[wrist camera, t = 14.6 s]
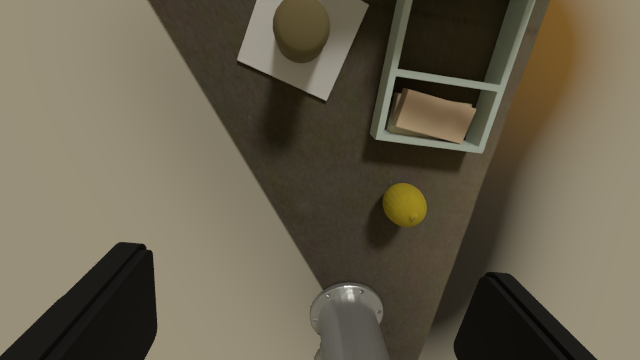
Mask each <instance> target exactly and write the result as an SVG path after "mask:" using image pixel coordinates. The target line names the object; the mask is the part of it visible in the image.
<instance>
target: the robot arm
mask: <svg viewBox="0 0 640 360" xmlns="http://www.w3.org/2000/svg"><path fill="white" fill-rule="evenodd" d="M382 316H383V307H382V303H381V300H380V298H379V296H378V295H377V293H375V292H374V291H373V290H372V289H371V288H369V287H367V286H365V285H362V284H358V283H340V284H336V285H333V286H331V287H329V288H327V289H325V290H324V291H322V292H321V293H320V294H319V295H318V296H317V297H316V298H315V300H314V301H313V303H312V306H311V309H310V320H311V325H312V326H313V328H314V330H315V331H316V332H317V334H319V335H320V336H321V343H320V349H319V350H318V352H317V353H316V355H315V357H314V360H389V356H388V353H387V350H386V347H385V343H384V340H383V337H382V334H381V330H380V327H379V324H380V322H381V320H382ZM156 333H157V314H156V297H155V281H154V265H153V253H152V251H151V250H147V249H146V246H145V245H144V244H138V243H126V242H119V243H118V244H116V245H115V246H114V247H113V248H112V249H111V250H110V251H109V252H108V253H107V254H106V255H105V256H104V257H103V258H102V259H101V260H100V261H99V262H98V263H97V264H96V265H95V266H94V267H93V268H92V269H91V270H90V271H89V272H88V273H87V274H85V276H83V278H82V279H80V281H79V282H77V283H76V284H75V285H74V286H73V287H72V288H71V289H70V290H69V291H68V292H67V293H66V294H65V295H64V296H62V297H61V298H60V299H59V300H57V301H56V302H55V303H54V305H52V306H51V307H50V308H49V309H48V310H47V311H46V312H45V313H44V314H43V315H42V316H41V317H40V318H39V319H38V320H37V321H36V322H35V323H34V324H33V325H32V326H31V327H30V328H29V329H28V330H27V331H26V332H25V333H24V334H23V335H22V336H21V337H19V338H18V339H17V340H16V341H15V342H14V343H13V344H12V345H11V346H10V347H9V348H8V349H7V350H6V351H5V352H4V353H3V354H2V355H1V356H0V360H144V359H145V357H146V355H147V353H148V351H149V349H150V348H151V346H152V344H153V342H154V339H155V336H156ZM454 352H455V355H456V357H457V359H458V360H597V359H596V358H595V357H594V356H593V355H592V354H591V353H590V352H589V351H588V350H587V349H586V348H585V347H584V346H583V345H582V344H581V343H580V342H579V341H578V340H577V339H576V338H575V337H574V336H573V335H572V334H571V333H570V332H569V331H568V330H567V329H566V328H564V326H563V325H562V324H560V322H558V320H557V319H556V318H554V317H553V315H551V314H550V313H549V312H548V311H547V310H546V309H545V308H544V307H543V306H542V305H541V304H540V303H539V302H538V301H537V300H536V299H535V298H534V297H533V296H532V295H531V294H530V293H529V292H528V291H527V290H526V289H525V288H524V287H523V286H522V285H521V284H520V283H519V282H518V281H517V280H516V279H515V278H514V277H513V276H512V275H510V274H507V273H497V272H487V273H486V274H485V275H484V277H481V278H480V280H479V281H478V284H477V286H476V289H475V291H474V294H473V296H472V299H471V301H470V304H469V306H468V309H467V311H466V314H465V316H464V319H463V321H462V324H461V326H460V328H459V331H458V333H457V336H456V338H455V341H454Z"/></svg>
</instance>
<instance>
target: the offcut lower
mask: <svg viewBox="0 0 640 360" xmlns="http://www.w3.org/2000/svg"><path fill="white" fill-rule="evenodd" d="M400 96H401V93H394V98H393V102H392V107H391V111H390V116H389V120H388V125H387V129H386V130H387V131H389V132H390V133H398V134H405V135H413V136H421V137H428V138H436V139H441V138H437V137H434V136H430V135H426V134H422V133H418V132H415V131H411V130H407V129H403V128H400V127H396V126H394V125H393V124H391V122H392V119H393V116H394V114H395V111H396V108H397V105H398V102H399V99H400ZM448 101H449V100H448ZM451 102H455V103H458V104H462V105H465V106H469V107H471V106H472V104H468V103H462V102H456V101H451ZM444 140H445V139H444Z"/></svg>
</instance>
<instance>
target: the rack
mask: <svg viewBox="0 0 640 360" xmlns="http://www.w3.org/2000/svg"><path fill="white" fill-rule="evenodd" d="M412 1H413V0H397V1H396V6H395V11H394V16H393V21H392V26H391V31H390V36H389V41H388V45H387V50H386V55H385V60H384V65H383V70H382V75H381V80H380V85H379V90H378V95H377V99H376V104H375V109H374V114H373V119H372V124H371V129H370V135H371V136H372V137H373V138H374V139H375V140H382V141H390V142H398V143H406V144H413V145H421V146H429V147H437V148H444V149H452V150H460V151H468V152H475V153H483V150H484V148H485V145H486V142H487V139H488V136H489V133H490V130H491V127H492V124H493V122H494V119H495V116H496V113H497V110H498V107H499V104H500V101H501V98H502V96H503V93H504V90H505V87H506V84H507V81H508V78H509V75H510V72H511V70H512V67H513V64H514V61H515V58H516V55H517V52H518V49H519V46H520V44H521V41H522V38H523V35H524V32H525V29H526V26H527V23H528V20H529V18H530V15H531V12H532V9H533V6H534V3H535V0H510V1H509V4H508V8H507V11H506V14H505V17H504V20H503V23H502V26H501V29H500V33H499V36H498V39H497V42H496V45H495V48H494V51H493V54H492V58H491V61H490V64H489V67H488V70H487V73H486V76H485V79H484V82H478V81H472V80H465V79H459V78H453V77H446V76H440V75H434V74H427V73H421V72H415V71H408V70H402V69H398V64H399V60H400V55H401V51H402V46H403V41H404V37H405V32H406V28H407V23H408V19H409V14H410V10H411V5H412ZM396 76H397V77H404V78H410V79H417V80H423V81H429V82H436V83H442V84H449V85H455V86H462V87H468V88H475V89H481V92H480V95H479V98H478V101H477V104H476V112H475V114H474V116H473V119H472V121H471V123H470V126H469V130H468V133H467V136H466V139H465V140H463V141H462V144H460V143H456V142H452V141H449V140H444V139H436V138H428V137H421V136H413V135H405V134H398V133H390V132H389V131H387V130H384V128H385V123H386V119H387V114H388V110H389V105H390V101H391V96H392V91H393V87H394V82H395V78H396Z"/></svg>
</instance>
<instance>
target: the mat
mask: <svg viewBox="0 0 640 360" xmlns="http://www.w3.org/2000/svg"><path fill="white" fill-rule="evenodd" d="M282 1H283V0H257V1H256V4H255V7H254V10H253V13H252V16H251V19H250V22H249V25H248V28H247V31H246V34H245V38H244V41H243V44H242V47H241V50H240V53H239V56H238V59H237V60H238V61H240V62H242V63H245V64H247V65H249V66H251V67H253V68H256V69H258V70H260V71H262V72H264V73H266V74H269V75H271V76H273V77H275V78H277V79H280V80H282V81H284V82H286V83H288V84H290V85H293V86H295V87H297V88H299V89H301V90H304V91H306V92H308V93H310V94H312V95H314V96H317V97H319V98H321V99H323V100H325V101H327V99H328V97H329V94H330V92H331V90H332V88H333V85H334V83H335V81H336V79H337V76H338V74H339V72H340V70H341V67H342V65H343V63H344V60H345V58H346V56H347V54H348V51H349V49H350V47H351V45H352V42H353V40H354V38H355V36H356V33H357V31H358V29H359V26H360V24H361V22H362V20H363V17H364V15H365V13H366V11H367V8H368V6H369V5H368V4H367V3H365V2H363V1H361V0H318V1H319V2H320V3H321V4H322V5H323V6H324V8H325V10H326V12H327V14H328V16H329V21H330V33H329V37H328V40H327V42H326V44H325V46H324V48H323V50H322V52H321V53H320V54H319V56H318V57H317V58H315V59H314V60H312V61H311V62H307V63H295V62H293V61H291V60H288V59H287V58H286V57H285V56H284V55H283V54H282V53H281V51H280V50H279V48H278V46H277V42H276V39H275V36H274V32H273V17H274V14H275V11H276V9H277V7H278V6H279V5H280V3H281V2H282Z"/></svg>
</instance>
